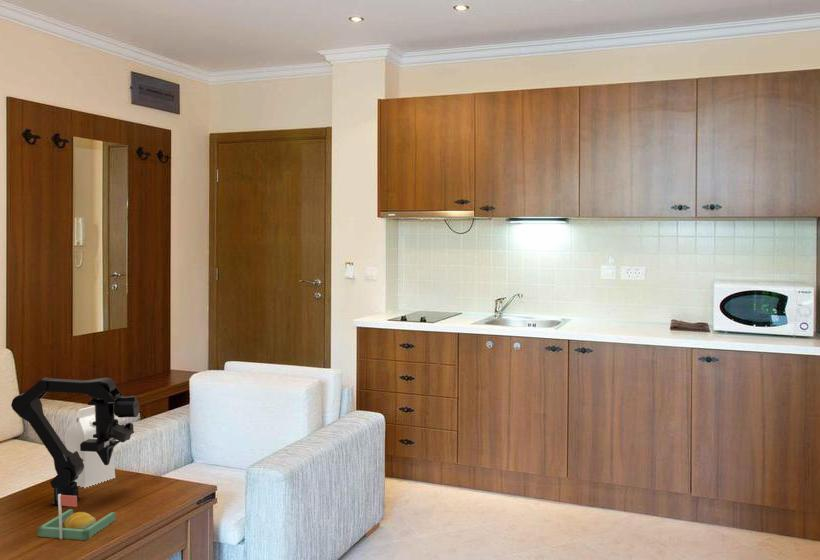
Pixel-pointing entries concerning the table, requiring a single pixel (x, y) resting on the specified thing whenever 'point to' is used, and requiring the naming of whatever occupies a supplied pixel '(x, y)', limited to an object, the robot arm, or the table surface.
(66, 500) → the mini golf green
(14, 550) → the table surface
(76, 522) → the bread roll
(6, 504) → the table surface
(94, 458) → the milk
